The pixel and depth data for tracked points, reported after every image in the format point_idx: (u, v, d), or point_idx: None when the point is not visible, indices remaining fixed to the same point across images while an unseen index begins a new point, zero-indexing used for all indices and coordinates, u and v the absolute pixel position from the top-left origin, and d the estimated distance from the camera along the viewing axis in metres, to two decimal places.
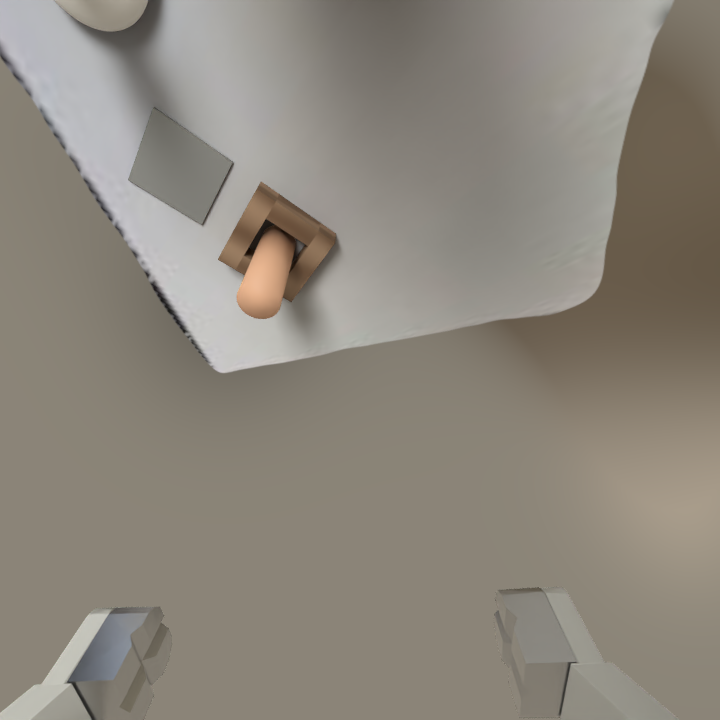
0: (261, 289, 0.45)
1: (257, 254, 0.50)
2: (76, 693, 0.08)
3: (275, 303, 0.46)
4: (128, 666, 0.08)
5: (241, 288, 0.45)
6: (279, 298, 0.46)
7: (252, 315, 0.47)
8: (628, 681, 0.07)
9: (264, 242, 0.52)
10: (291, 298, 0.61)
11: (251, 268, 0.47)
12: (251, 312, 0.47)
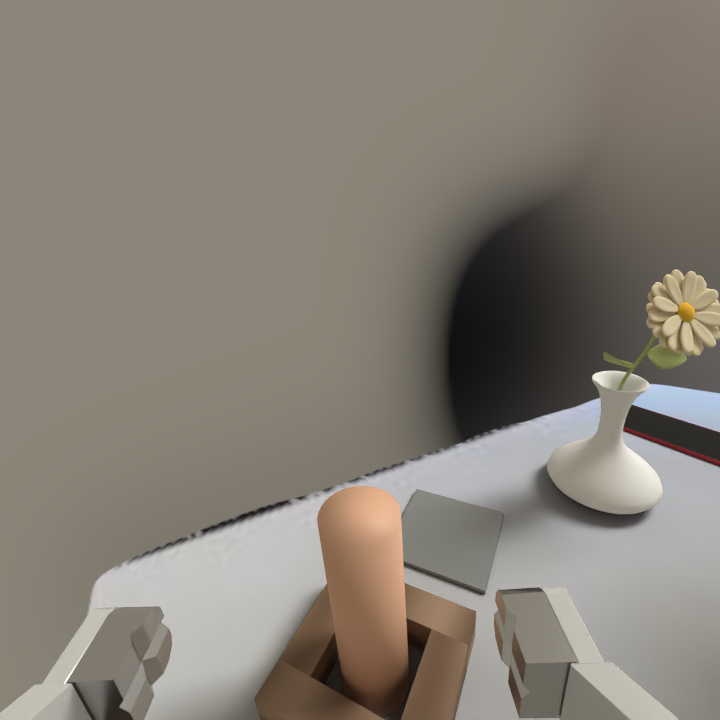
0: (385, 516, 0.23)
1: None
2: (76, 693, 0.08)
3: (358, 540, 0.22)
4: (128, 666, 0.08)
5: (380, 490, 0.25)
6: (371, 546, 0.22)
7: (324, 507, 0.24)
8: (628, 681, 0.07)
9: None
10: (264, 698, 0.27)
11: None
12: (331, 506, 0.25)
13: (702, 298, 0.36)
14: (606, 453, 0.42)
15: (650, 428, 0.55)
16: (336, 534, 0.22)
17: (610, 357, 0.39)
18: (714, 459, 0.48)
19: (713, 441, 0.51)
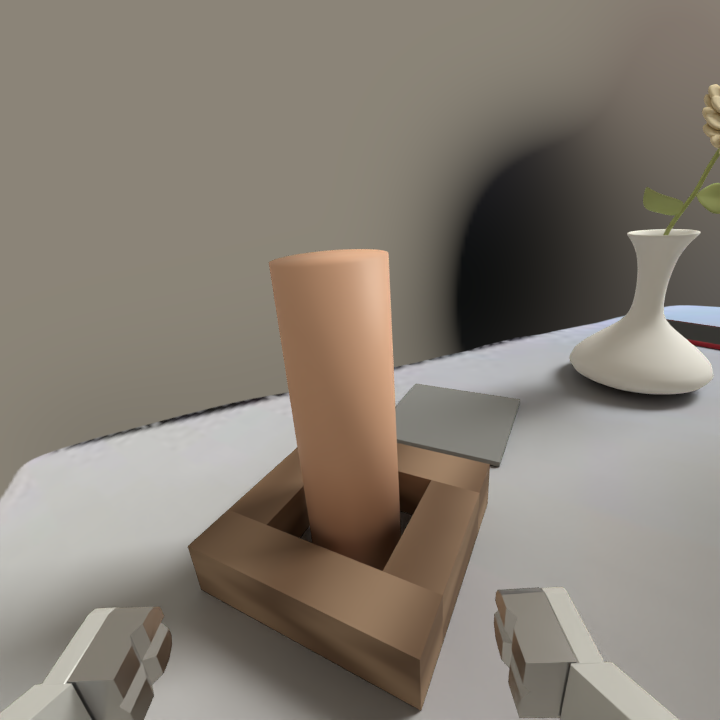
0: (366, 255, 0.16)
1: None
2: (76, 693, 0.08)
3: (324, 263, 0.15)
4: (128, 666, 0.08)
5: (361, 249, 0.18)
6: (341, 266, 0.14)
7: (282, 257, 0.17)
8: (628, 681, 0.07)
9: None
10: (201, 545, 0.19)
11: None
12: (291, 257, 0.18)
13: None
14: (644, 326, 0.35)
15: (686, 333, 0.48)
16: (293, 264, 0.15)
17: (652, 194, 0.32)
18: None
19: None
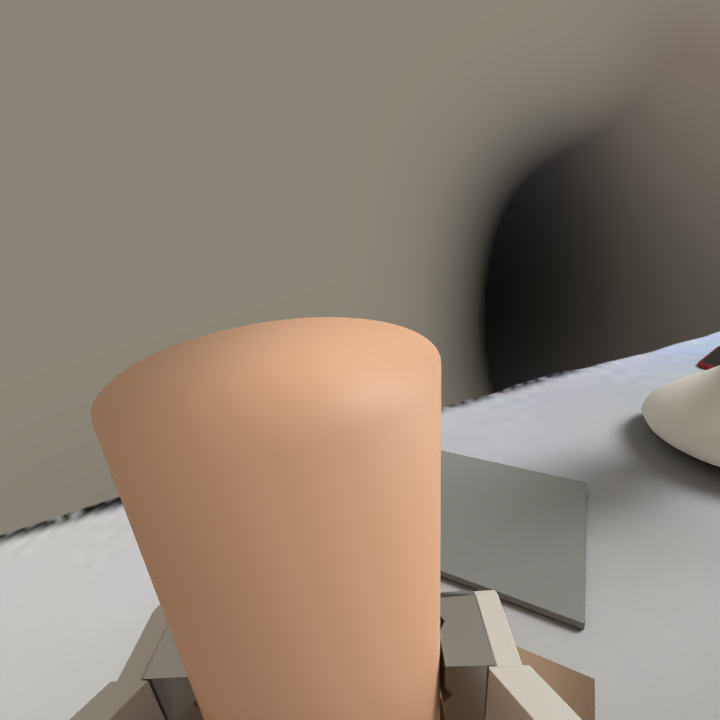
0: (379, 363, 0.06)
1: None
2: (152, 690, 0.08)
3: (240, 428, 0.04)
4: None
5: (365, 320, 0.08)
6: (296, 451, 0.04)
7: (165, 352, 0.07)
8: (541, 684, 0.07)
9: None
10: None
11: None
12: (190, 350, 0.07)
13: None
14: None
15: None
16: (152, 411, 0.05)
17: None
18: None
19: None
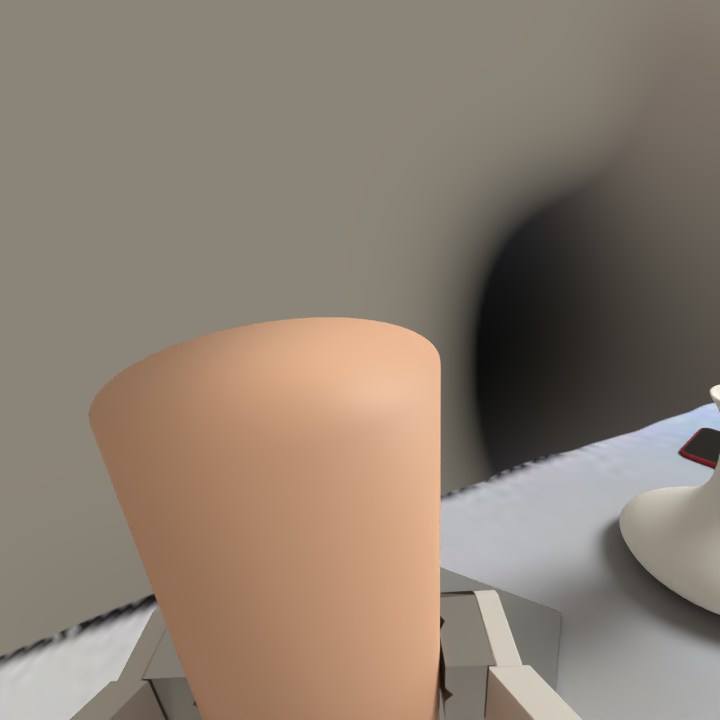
0: (379, 363, 0.06)
1: None
2: (152, 690, 0.08)
3: (239, 429, 0.04)
4: None
5: (364, 321, 0.08)
6: (295, 453, 0.04)
7: (163, 353, 0.07)
8: (541, 684, 0.07)
9: None
10: None
11: None
12: (189, 351, 0.07)
13: None
14: None
15: None
16: (150, 412, 0.05)
17: None
18: None
19: None
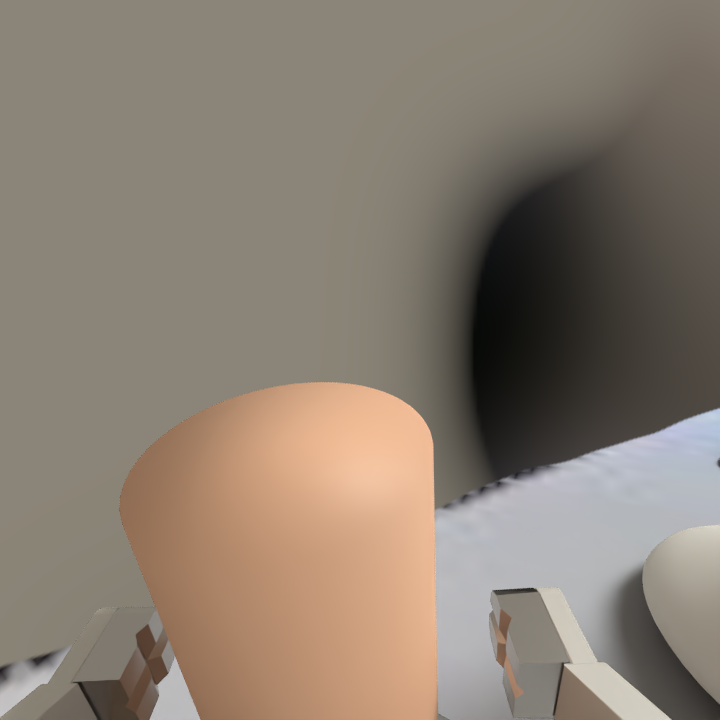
0: (378, 449, 0.06)
1: None
2: (82, 693, 0.08)
3: (254, 534, 0.05)
4: (134, 666, 0.08)
5: (364, 389, 0.08)
6: (304, 562, 0.05)
7: (180, 429, 0.08)
8: (621, 681, 0.07)
9: None
10: None
11: None
12: (203, 426, 0.08)
13: None
14: None
15: None
16: (174, 509, 0.06)
17: None
18: None
19: None
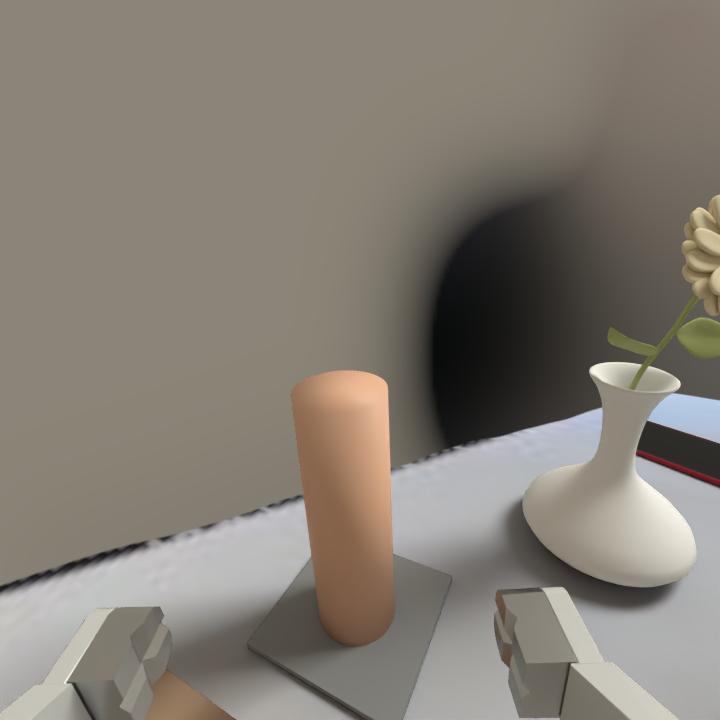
0: (370, 390, 0.20)
1: None
2: (76, 693, 0.08)
3: (336, 407, 0.19)
4: (128, 666, 0.08)
5: (365, 373, 0.22)
6: (351, 411, 0.18)
7: (300, 384, 0.21)
8: (628, 681, 0.07)
9: None
10: None
11: None
12: (307, 384, 0.21)
13: None
14: (610, 488, 0.28)
15: (669, 450, 0.40)
16: (311, 402, 0.19)
17: (619, 336, 0.24)
18: None
19: None
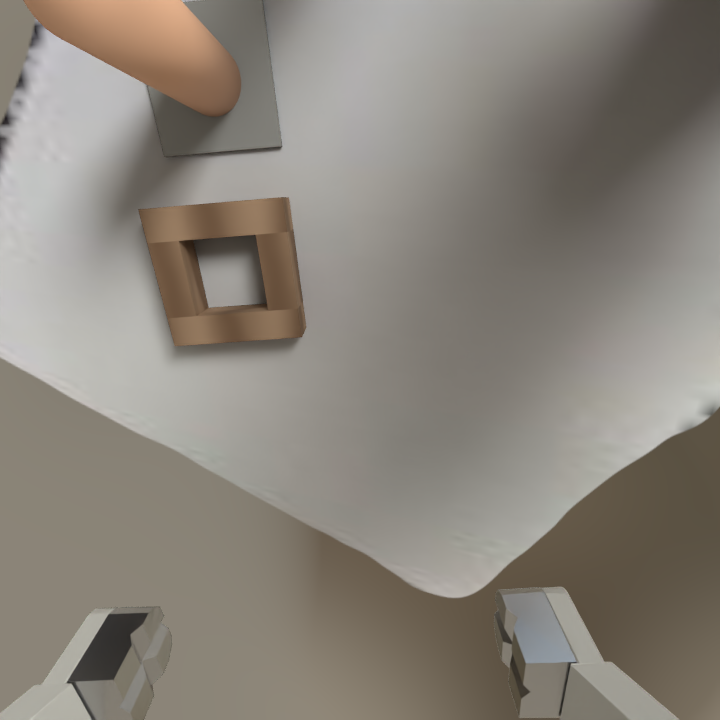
0: None
1: None
2: (76, 693, 0.08)
3: (105, 21, 0.17)
4: (128, 666, 0.08)
5: None
6: (124, 21, 0.17)
7: None
8: (628, 681, 0.07)
9: None
10: (180, 342, 0.37)
11: None
12: None
13: None
14: None
15: None
16: (75, 27, 0.17)
17: None
18: None
19: None
